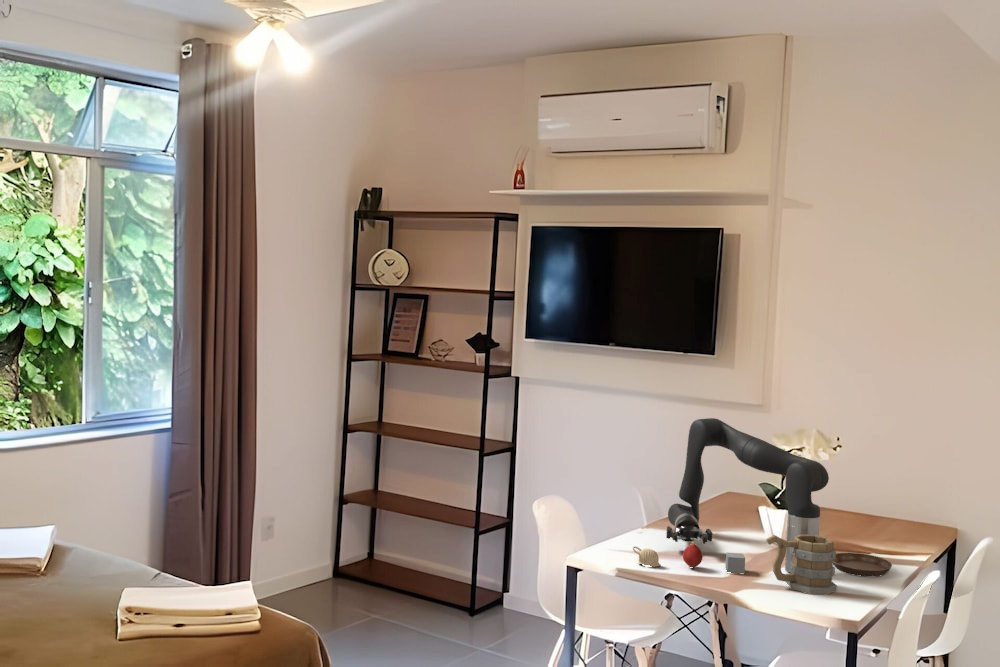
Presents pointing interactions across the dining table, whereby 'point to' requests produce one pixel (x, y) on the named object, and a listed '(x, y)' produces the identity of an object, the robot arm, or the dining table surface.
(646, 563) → the decorative ornament
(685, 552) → the red squash
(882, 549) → the dining table surface
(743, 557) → the grey block
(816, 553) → the tankard
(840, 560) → the plant saucer
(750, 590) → the dining table surface
